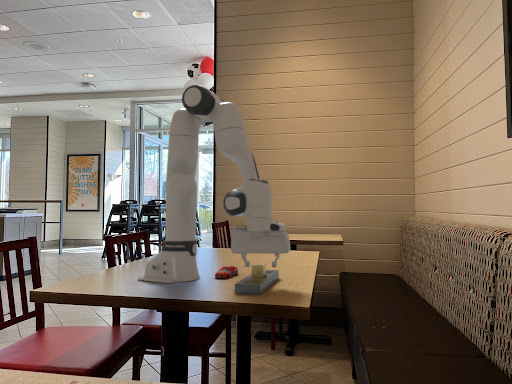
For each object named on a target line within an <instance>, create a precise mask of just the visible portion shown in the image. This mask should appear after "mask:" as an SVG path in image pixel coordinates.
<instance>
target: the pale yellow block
mask: <svg viewBox="0 0 512 384" xmlns="http://www.w3.org/2000/svg"><path fill="white" fill-rule="evenodd" d="M266 270H267V264H266V263H253V264H252V265H251V273H252V277H255V278H265V277H266Z"/></svg>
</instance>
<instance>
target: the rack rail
mask: <svg viewBox="0 0 512 384" xmlns="http://www.w3.org/2000/svg"><path fill="white" fill-rule="evenodd" d="M279 279H280V270H278V269H266V277H265V278H255V277H252V272H251V273H250V274H248V275H247V276H245V277H243V278H242V279H240V280H238V281H237V282H235V283H234V294H236V295H253V296H260V295H262V294H263V293H265V292H266V290H268V288H270V287H271V286H272V285H274V283H276V282H277V281H278V280H279Z"/></svg>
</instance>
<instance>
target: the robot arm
mask: <svg viewBox="0 0 512 384" xmlns="http://www.w3.org/2000/svg"><path fill="white" fill-rule="evenodd" d="M181 102H182V106H183V107H184V108H180V109H177V110H175V111H174V112H173V114H172V118H171V122H170V126H169V132H168V133H169V134H168V135H169V136H168V146H167V147H168V149H167V150H168V151H167V163H166V165H167V167H166V177H165V240H164V241H162V242H160V243H158V244H159V246H158V247H161V249H160V250H159V252H158V253H157V254H155V255H154V256H152V257H151V258H150V259H149V260H148V261H147V262H146V264H145V267H144V273H143V274H141V275H139V276H138V277H137V279H138V281H143V280H144V281H145V282H153V283H164V284H174V283H179V282H180V283H181V282H189V281H190V282H191V281H195V280H199V279H200V278H201V276H200V273H199V268H198V263H197V255H198V254H197V252H198V245H197V243H198V241H197V239H196V232H197V231H196V229H197V228H196V223H197V220H196V219H197V205H198V204H197V201H198V200H197V199H198V184H197V181H196V173H197V172H196V171H197V164H198V156H199V155H198V154H199V139H200V138H199V135H200V128H201V126H204V127H209V126H210V125H213V131H214V140H215V146H216V147H217V149H218V151H219V153H220V154H221V155H222V156H223V157H225V158H227V159H229V160H230V161H232V162H233V163H234V164H235V165H236V166H237V167H238V169H239V170H240V172H241V176H242V180H243V181H242V182H243V184H242V185H240V186H238V187H237V188H234V189H232V190H229V191H228V192H227V193H226V194H225V195H224V197H223V202H222V204H223V209H224V212H226V214H227V215H229V216H231V217H246V225H243V226H241V225H240V226H237V225H236V226H234V227H233V228H232V229H230V238H231V242H230V251H231V252H232V254H237V255H239V254H240V255H241V259H242V261H243V262H244V267H245V268H250V267H251V261H250V260H248V259H247V254H250V255H251V254H257V255H258V254H266V255H267V254H268V255H271V254H273V255H274V257H275V260H274V261H271V268H278V261H279V259H280V257H281V254H283V255H284V254H285V255H287V254H288V253H290V251H291V242H290V236H289V234H288V232H287V231H286V229H287V225H286V224H285V223H282V222H278V221H275V220H273V213H272V206H273V197H272V188H271V185H270V183H269V182H268V181H267V180H265V179H260V174H259V172H258V167H257V163H256V159H255V156H254V153H253V151H252V150H251V148H250V146H249V143H248V139H247V136H246V130H245V125H244V120H243V116H242V113H241V111H240V108H239V106H238V105H237V104H236V103H233V102H231V101H230V102H229V101H226V102H224V100H222V98H221V97H219V96H218V95H217V94H216V93H215V92H213V91H212V90H210V89H208V88H207V87H205V86H203V85H200V84H191V85H189V86H187V87H186V89H185V90H184V91H183V93H182V95H181Z"/></svg>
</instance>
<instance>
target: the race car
mask: <svg viewBox="0 0 512 384" xmlns="http://www.w3.org/2000/svg"><path fill="white" fill-rule="evenodd" d="M237 275H239V269H238V267H236V266H234V265H224V266H222V267H221V268H220V269H218V271H217V272H215V274H214V278H215V279H224V280H229V278H232V277H235V276H237Z"/></svg>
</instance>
